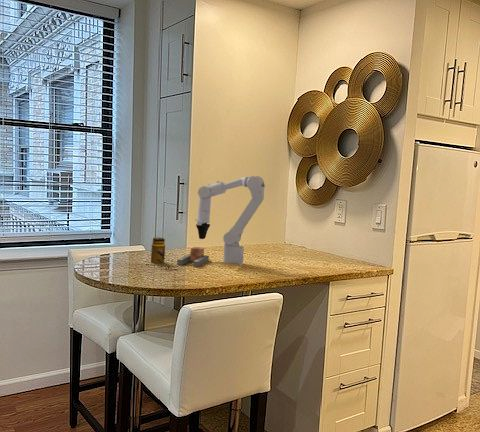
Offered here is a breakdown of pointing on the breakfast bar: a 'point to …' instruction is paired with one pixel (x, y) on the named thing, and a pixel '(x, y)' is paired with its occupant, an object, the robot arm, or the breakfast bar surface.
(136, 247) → the breakfast bar surface
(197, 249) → the block
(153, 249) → the condiment
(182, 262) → the chute
